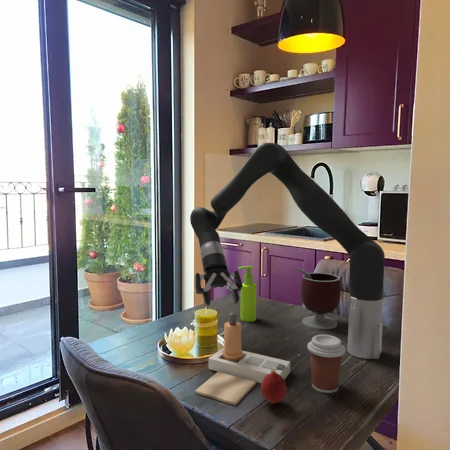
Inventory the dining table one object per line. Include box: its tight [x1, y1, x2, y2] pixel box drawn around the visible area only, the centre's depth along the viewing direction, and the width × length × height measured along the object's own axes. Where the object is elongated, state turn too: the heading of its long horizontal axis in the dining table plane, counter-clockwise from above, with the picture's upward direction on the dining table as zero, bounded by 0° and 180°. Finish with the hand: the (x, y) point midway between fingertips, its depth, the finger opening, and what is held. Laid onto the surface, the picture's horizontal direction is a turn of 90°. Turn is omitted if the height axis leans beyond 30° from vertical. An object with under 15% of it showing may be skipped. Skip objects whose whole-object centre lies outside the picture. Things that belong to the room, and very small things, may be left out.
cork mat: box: [194, 371, 257, 406], centre depth 96 cm, size 11×11×1 cm
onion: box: [260, 370, 288, 405], centre depth 89 cm, size 6×6×8 cm
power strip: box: [208, 346, 291, 384], centre depth 105 cm, size 20×9×3 cm, turn 61°
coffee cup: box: [306, 334, 346, 394], centre depth 96 cm, size 9×9×12 cm
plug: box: [222, 312, 244, 363], centre depth 106 cm, size 6×6×15 cm
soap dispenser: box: [237, 265, 257, 323], centre depth 144 cm, size 6×7×20 cm
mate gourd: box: [296, 267, 342, 330], centre depth 140 cm, size 16×14×20 cm
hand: (222, 303), depth 116 cm, fingers open, 8 cm apart
